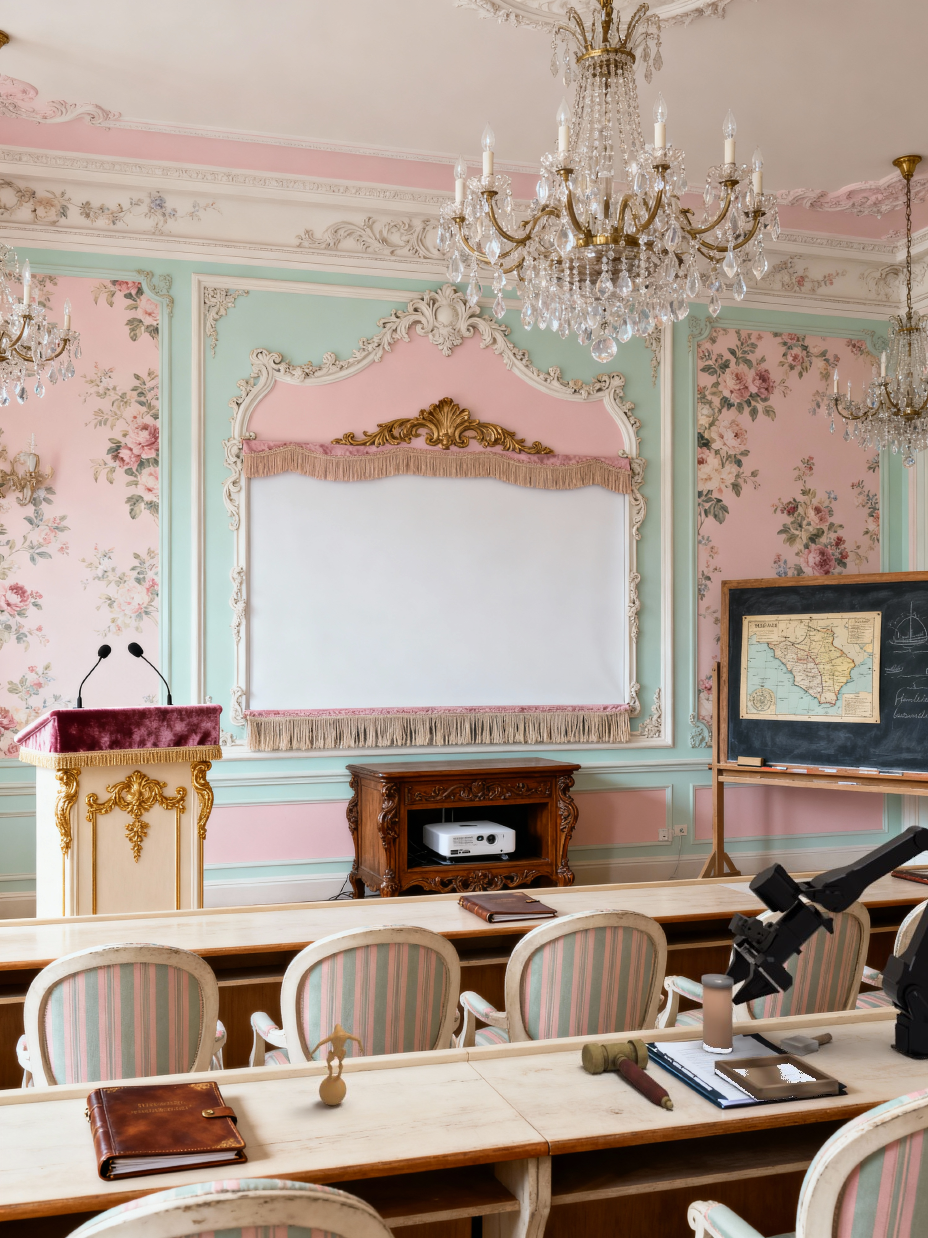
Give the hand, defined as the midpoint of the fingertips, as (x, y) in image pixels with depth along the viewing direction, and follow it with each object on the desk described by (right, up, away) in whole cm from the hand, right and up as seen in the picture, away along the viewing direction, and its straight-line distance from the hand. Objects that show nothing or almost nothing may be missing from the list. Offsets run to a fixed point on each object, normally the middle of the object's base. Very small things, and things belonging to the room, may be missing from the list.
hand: (726, 995), depth 181 cm
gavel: (-18, -8, -18) cm, 27 cm away
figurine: (-64, -6, -29) cm, 71 cm away
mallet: (+14, -9, +1) cm, 17 cm away
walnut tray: (+3, -8, -17) cm, 19 cm away
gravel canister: (-2, -9, -1) cm, 9 cm away
